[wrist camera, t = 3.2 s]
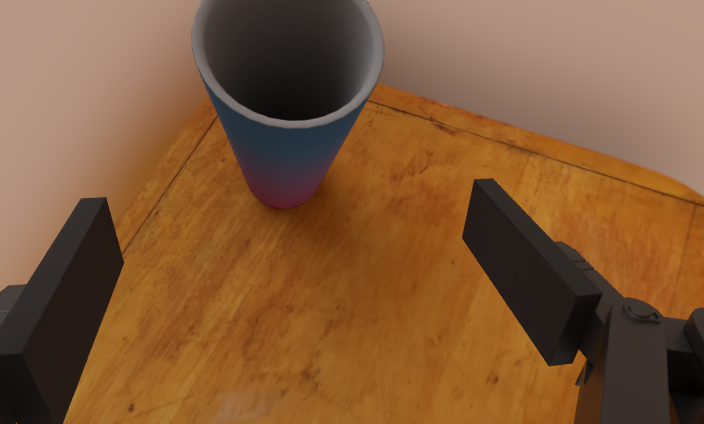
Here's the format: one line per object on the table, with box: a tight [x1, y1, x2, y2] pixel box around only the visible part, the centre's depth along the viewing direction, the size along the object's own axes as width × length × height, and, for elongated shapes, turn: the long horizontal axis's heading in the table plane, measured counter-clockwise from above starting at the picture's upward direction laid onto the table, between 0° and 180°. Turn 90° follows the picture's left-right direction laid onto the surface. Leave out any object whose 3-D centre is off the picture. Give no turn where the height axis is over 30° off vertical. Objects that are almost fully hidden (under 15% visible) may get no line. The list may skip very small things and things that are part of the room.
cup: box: [192, 0, 385, 209], centre depth 23 cm, size 7×7×15 cm
